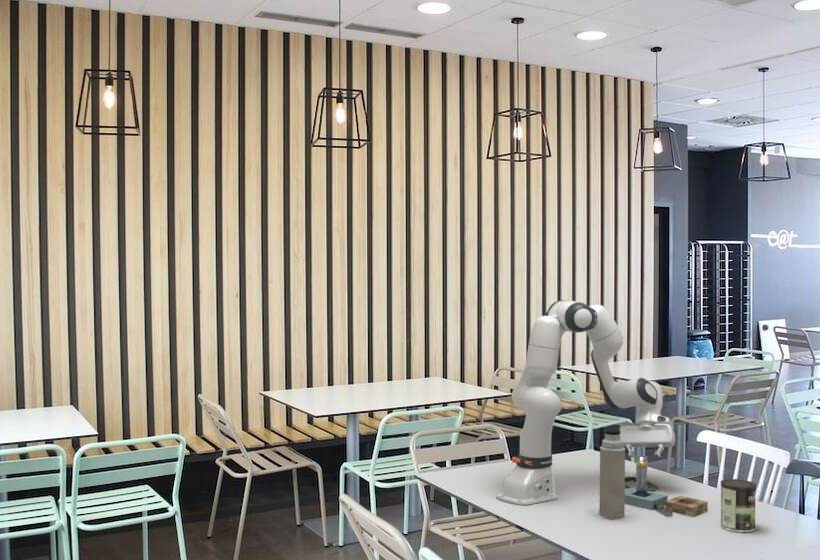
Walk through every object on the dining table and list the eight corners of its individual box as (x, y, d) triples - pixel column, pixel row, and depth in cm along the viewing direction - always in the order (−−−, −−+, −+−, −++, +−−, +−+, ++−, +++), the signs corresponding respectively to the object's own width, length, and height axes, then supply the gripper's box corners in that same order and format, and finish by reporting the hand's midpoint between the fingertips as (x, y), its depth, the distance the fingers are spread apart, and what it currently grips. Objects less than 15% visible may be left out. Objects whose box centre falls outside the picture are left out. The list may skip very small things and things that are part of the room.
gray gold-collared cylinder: (643, 505, 290) (643, 458, 290) (633, 502, 293) (634, 456, 293) (649, 502, 293) (649, 456, 293) (639, 500, 296) (639, 454, 295)
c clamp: (665, 494, 305) (665, 487, 305) (619, 496, 303) (619, 488, 303) (644, 480, 325) (644, 473, 325) (600, 481, 323) (600, 474, 323)
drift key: (672, 516, 278) (672, 510, 278) (666, 516, 277) (666, 511, 277) (659, 509, 286) (659, 503, 286) (654, 509, 285) (654, 504, 285)
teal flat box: (652, 510, 284) (652, 501, 284) (615, 501, 295) (615, 492, 294) (667, 504, 291) (667, 495, 291) (631, 495, 301) (631, 487, 301)
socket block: (692, 516, 277) (692, 507, 277) (664, 510, 284) (665, 501, 284) (707, 510, 284) (707, 501, 284) (679, 504, 291) (679, 495, 291)
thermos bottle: (600, 510, 283) (601, 427, 283) (625, 513, 281) (626, 429, 280) (598, 517, 276) (598, 432, 275) (623, 520, 273) (624, 433, 273)
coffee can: (758, 526, 268) (758, 481, 268) (751, 535, 259) (752, 489, 259) (723, 520, 274) (724, 477, 273) (716, 529, 265) (717, 484, 264)
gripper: (617, 419, 316) (613, 452, 308) (673, 417, 305) (669, 452, 297) (623, 427, 320) (618, 460, 312) (677, 426, 309) (674, 460, 301)
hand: (644, 456), depth 305 cm, fingers open, 8 cm apart
